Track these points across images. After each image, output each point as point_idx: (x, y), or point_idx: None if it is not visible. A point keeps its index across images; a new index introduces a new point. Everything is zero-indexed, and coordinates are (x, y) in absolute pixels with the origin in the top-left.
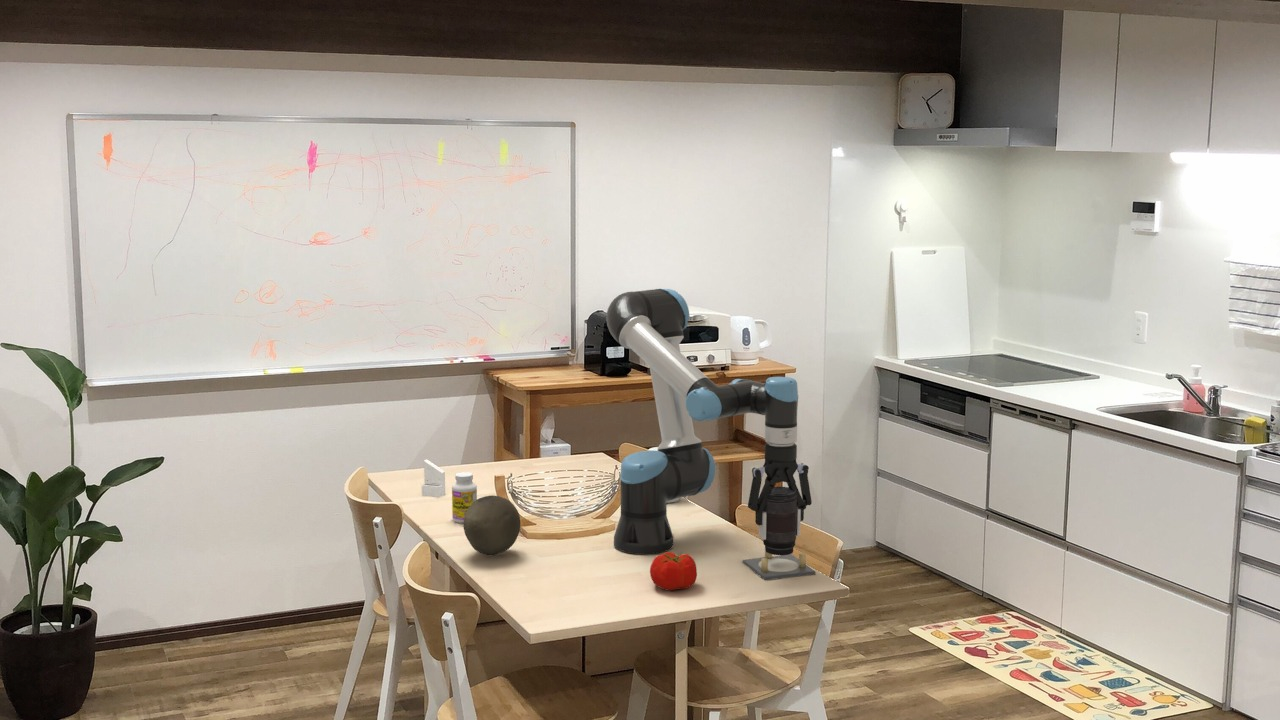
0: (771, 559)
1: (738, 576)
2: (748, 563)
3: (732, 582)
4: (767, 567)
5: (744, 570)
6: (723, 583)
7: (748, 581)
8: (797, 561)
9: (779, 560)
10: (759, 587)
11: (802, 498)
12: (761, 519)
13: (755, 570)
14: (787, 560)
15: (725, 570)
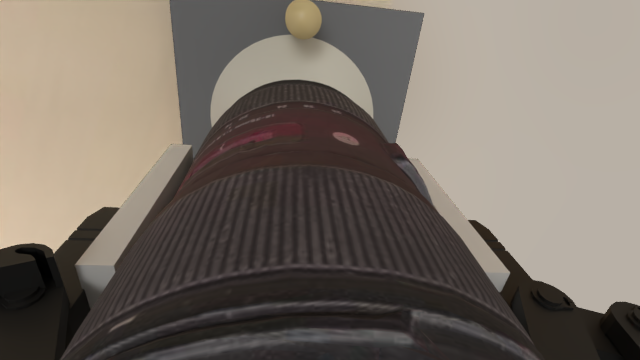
0: (300, 47)
1: (105, 137)
2: (178, 49)
3: (67, 183)
4: None
5: (150, 83)
6: (28, 180)
7: (131, 193)
8: (386, 111)
9: (325, 75)
10: None
11: (634, 349)
12: None
13: (183, 131)
14: (355, 89)
15: (62, 49)
